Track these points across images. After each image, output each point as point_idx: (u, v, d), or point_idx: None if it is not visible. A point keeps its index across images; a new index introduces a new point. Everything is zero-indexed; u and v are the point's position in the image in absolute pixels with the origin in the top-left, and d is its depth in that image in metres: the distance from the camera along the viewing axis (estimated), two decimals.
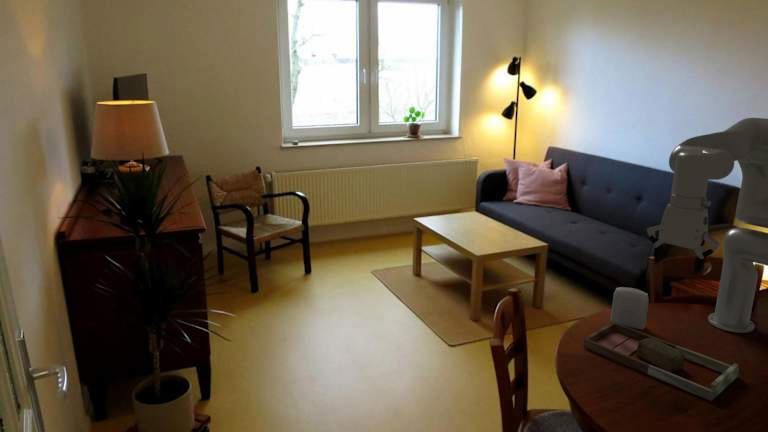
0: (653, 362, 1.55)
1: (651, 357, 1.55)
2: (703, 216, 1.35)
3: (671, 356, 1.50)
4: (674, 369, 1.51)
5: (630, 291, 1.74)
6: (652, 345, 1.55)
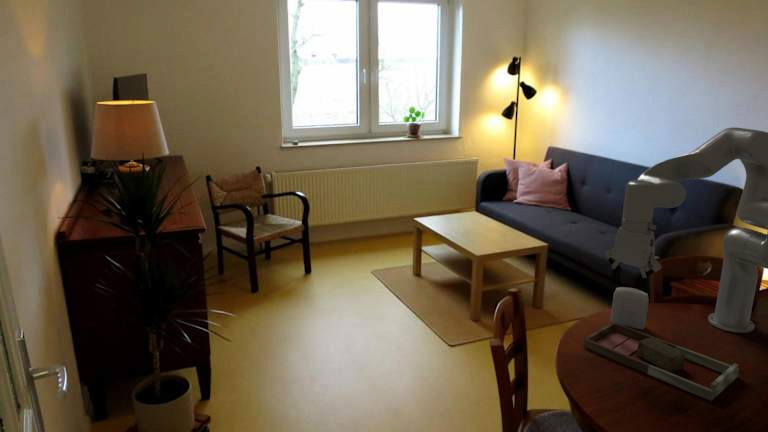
0: (653, 362, 1.55)
1: (651, 356, 1.55)
2: (649, 239, 1.51)
3: (671, 356, 1.50)
4: (674, 369, 1.51)
5: (630, 291, 1.74)
6: (653, 345, 1.55)
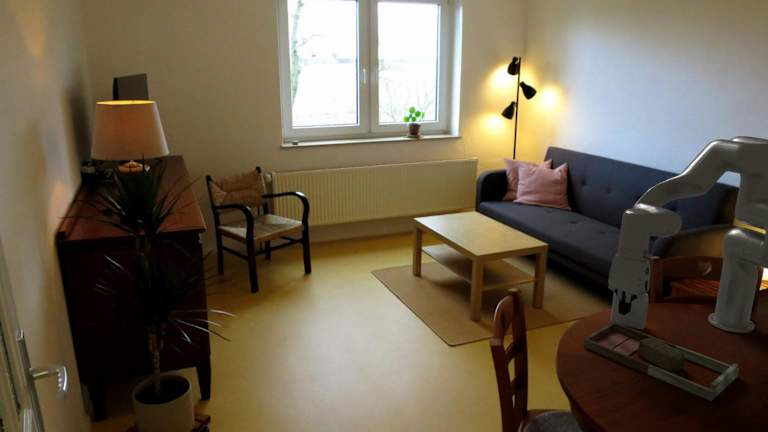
0: (653, 361, 1.55)
1: (651, 356, 1.55)
2: (645, 267, 1.53)
3: (670, 356, 1.50)
4: (673, 369, 1.51)
5: None
6: (653, 345, 1.56)
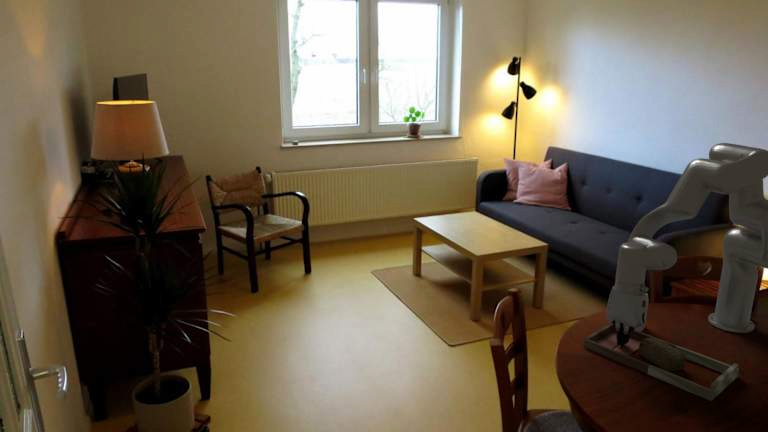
0: (653, 361, 1.55)
1: (651, 356, 1.55)
2: (641, 300, 1.56)
3: (670, 356, 1.50)
4: (673, 369, 1.51)
5: None
6: (653, 345, 1.56)
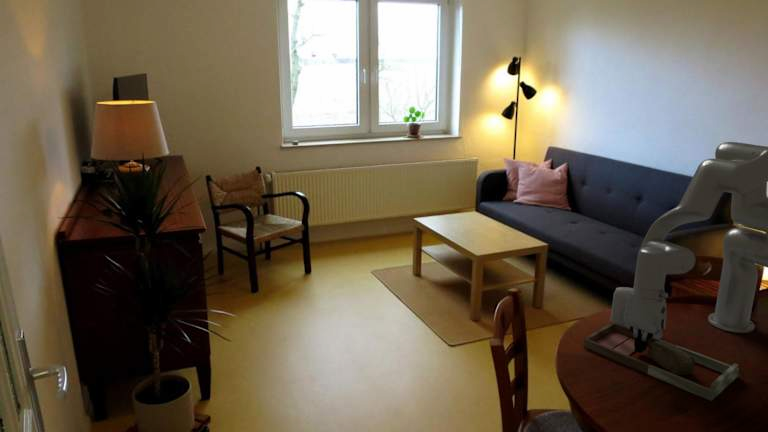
0: (662, 364, 1.53)
1: (660, 359, 1.54)
2: (661, 306, 1.52)
3: (678, 359, 1.48)
4: (681, 373, 1.49)
5: (630, 291, 1.74)
6: (662, 348, 1.54)
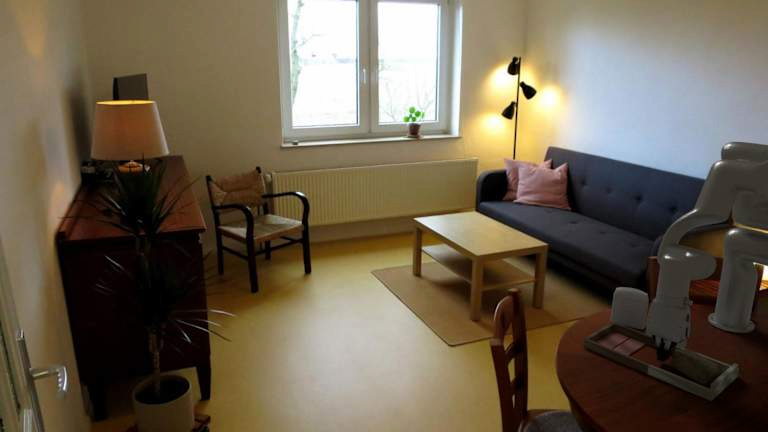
0: (687, 374, 1.49)
1: (685, 368, 1.49)
2: (685, 314, 1.47)
3: (706, 369, 1.44)
4: (709, 383, 1.45)
5: (630, 291, 1.74)
6: (687, 357, 1.49)
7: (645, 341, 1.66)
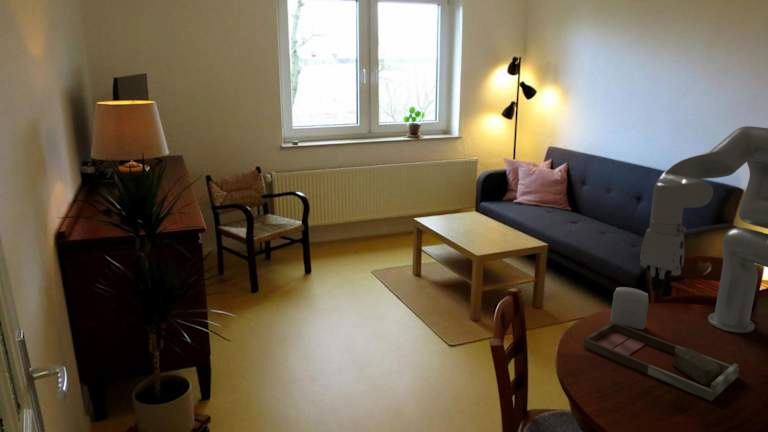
0: (688, 374, 1.49)
1: (686, 368, 1.49)
2: (679, 241, 1.47)
3: (707, 369, 1.44)
4: (710, 382, 1.45)
5: (630, 291, 1.74)
6: (689, 356, 1.50)
7: (645, 341, 1.66)
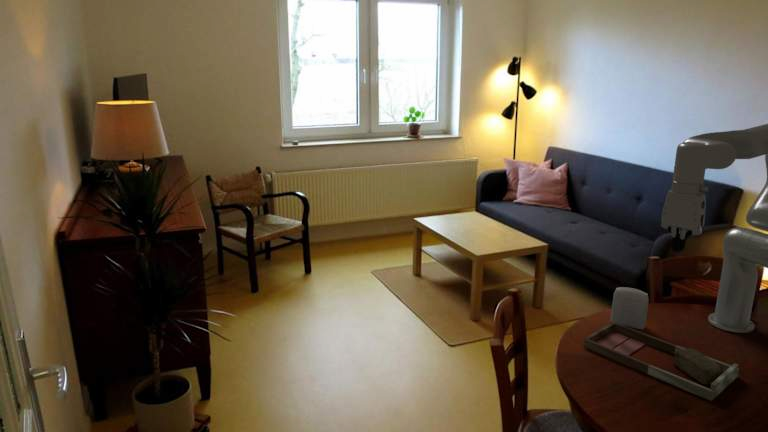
0: (689, 373, 1.49)
1: (687, 367, 1.50)
2: (701, 200, 1.50)
3: (707, 368, 1.44)
4: (710, 382, 1.45)
5: (630, 291, 1.74)
6: (689, 356, 1.50)
7: (645, 341, 1.66)
